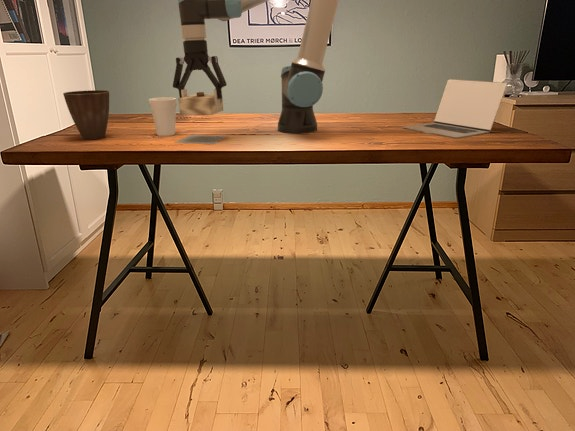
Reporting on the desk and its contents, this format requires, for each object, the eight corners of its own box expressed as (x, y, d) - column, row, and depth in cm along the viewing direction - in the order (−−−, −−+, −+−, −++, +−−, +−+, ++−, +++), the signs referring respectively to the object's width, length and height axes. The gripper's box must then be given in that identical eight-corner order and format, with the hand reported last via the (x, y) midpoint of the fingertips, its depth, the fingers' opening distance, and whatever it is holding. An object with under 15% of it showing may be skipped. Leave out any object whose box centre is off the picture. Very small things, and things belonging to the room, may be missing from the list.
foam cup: (172, 138, 163) (168, 100, 158) (148, 137, 164) (144, 100, 160) (183, 133, 171) (180, 97, 167) (160, 132, 173) (156, 97, 169)
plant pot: (66, 137, 166) (57, 92, 161) (107, 132, 175) (100, 89, 170) (78, 143, 155) (70, 95, 150) (122, 137, 164) (115, 91, 159)
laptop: (400, 129, 176) (404, 82, 169) (443, 123, 188) (448, 78, 182) (456, 140, 155) (462, 86, 149) (500, 132, 167) (507, 82, 161)
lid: (223, 110, 159) (221, 90, 157) (211, 115, 149) (208, 94, 147) (194, 110, 162) (192, 91, 159) (180, 115, 152) (177, 94, 149)
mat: (228, 136, 163) (228, 136, 163) (213, 144, 151) (213, 144, 150) (192, 135, 167) (192, 134, 166) (174, 143, 154) (174, 142, 154)
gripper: (233, 38, 148) (238, 107, 156) (167, 41, 153) (175, 107, 161) (224, 38, 141) (230, 110, 149) (155, 41, 147) (165, 110, 154)
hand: (201, 109), depth 155 cm, fingers closed on lid, 11 cm apart
